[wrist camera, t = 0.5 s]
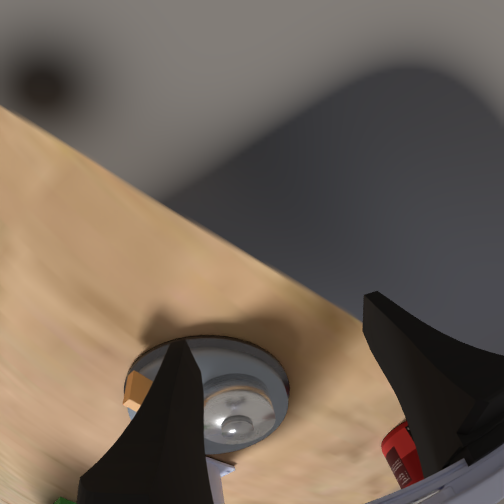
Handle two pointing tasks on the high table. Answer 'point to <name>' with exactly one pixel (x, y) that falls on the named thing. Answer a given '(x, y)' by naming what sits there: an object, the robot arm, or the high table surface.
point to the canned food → (403, 456)
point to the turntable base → (213, 342)
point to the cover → (236, 409)
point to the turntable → (211, 366)
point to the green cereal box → (64, 501)
